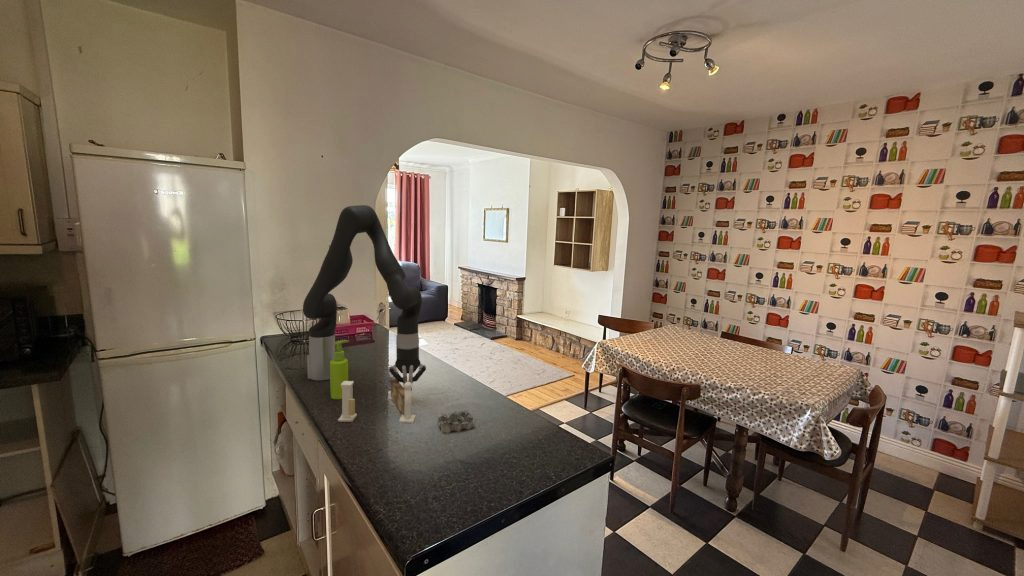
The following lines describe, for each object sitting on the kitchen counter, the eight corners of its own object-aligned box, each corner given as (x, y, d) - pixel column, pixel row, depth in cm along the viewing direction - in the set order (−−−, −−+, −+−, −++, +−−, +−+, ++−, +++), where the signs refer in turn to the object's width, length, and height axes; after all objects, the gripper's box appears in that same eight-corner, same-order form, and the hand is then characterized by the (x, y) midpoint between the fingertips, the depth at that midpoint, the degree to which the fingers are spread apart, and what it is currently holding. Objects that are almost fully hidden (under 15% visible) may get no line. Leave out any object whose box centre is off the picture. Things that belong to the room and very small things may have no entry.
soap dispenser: (354, 393, 146) (353, 340, 143) (338, 400, 140) (338, 345, 137) (342, 390, 148) (341, 337, 145) (326, 396, 142) (325, 342, 139)
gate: (390, 396, 143) (390, 379, 142) (395, 395, 144) (395, 378, 143) (403, 415, 130) (403, 396, 129) (409, 414, 131) (409, 395, 130)
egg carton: (441, 435, 121) (441, 422, 120) (436, 423, 128) (436, 411, 127) (475, 430, 125) (475, 417, 125) (468, 419, 132) (468, 407, 131)
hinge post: (399, 422, 127) (399, 384, 125) (402, 416, 131) (402, 379, 129) (413, 423, 127) (413, 385, 125) (415, 416, 131) (416, 379, 129)
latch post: (337, 421, 125) (337, 385, 124) (343, 414, 130) (342, 380, 128) (353, 421, 126) (353, 385, 124) (358, 415, 130) (358, 380, 128)
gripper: (386, 348, 133) (387, 398, 136) (427, 347, 136) (427, 395, 139) (388, 342, 140) (388, 389, 143) (426, 341, 143) (426, 387, 146)
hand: (407, 392), depth 141 cm, fingers closed
